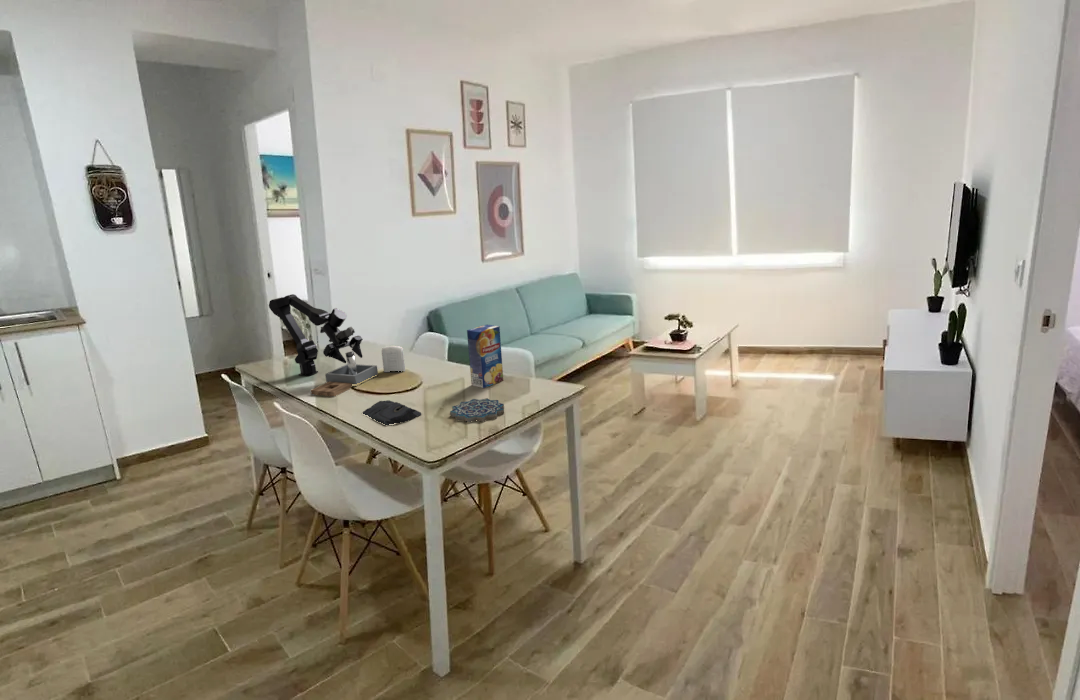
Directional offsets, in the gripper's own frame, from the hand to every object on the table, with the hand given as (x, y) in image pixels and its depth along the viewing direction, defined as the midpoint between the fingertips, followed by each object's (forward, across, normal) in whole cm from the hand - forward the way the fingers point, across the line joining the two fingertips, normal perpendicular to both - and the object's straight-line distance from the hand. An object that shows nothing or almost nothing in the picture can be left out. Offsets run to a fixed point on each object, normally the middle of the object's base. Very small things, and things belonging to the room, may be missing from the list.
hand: (354, 359), depth 274 cm
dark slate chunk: (+40, -25, -26) cm, 54 cm away
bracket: (+8, -15, +6) cm, 18 cm away
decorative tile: (+61, -9, -47) cm, 77 cm away
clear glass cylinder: (+5, 0, +7) cm, 9 cm away
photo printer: (+11, +17, +2) cm, 21 cm away
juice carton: (+48, +21, -34) cm, 62 cm away
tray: (+5, 0, +8) cm, 10 cm away
